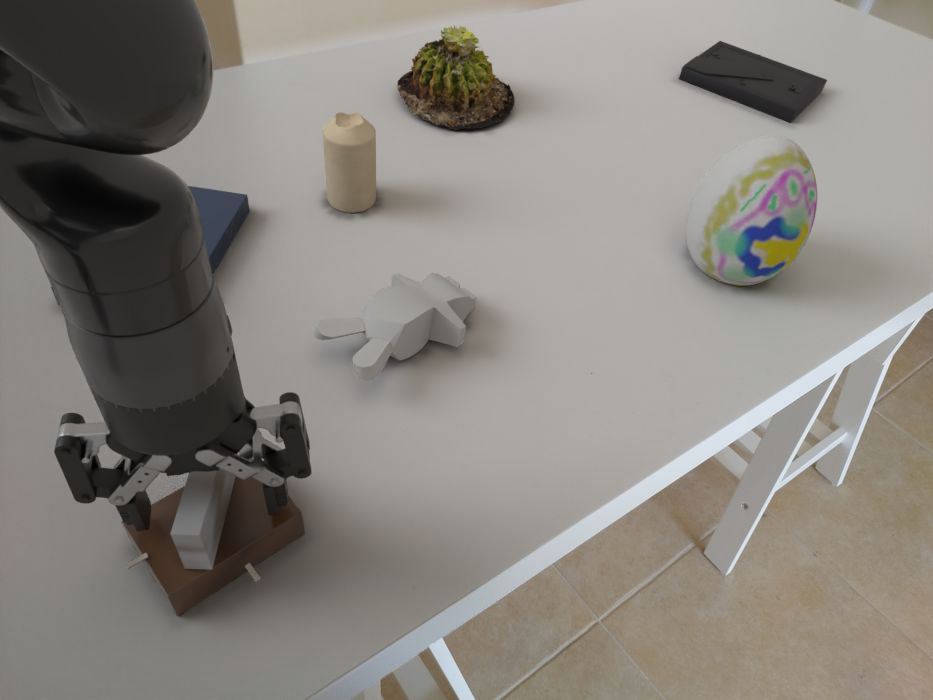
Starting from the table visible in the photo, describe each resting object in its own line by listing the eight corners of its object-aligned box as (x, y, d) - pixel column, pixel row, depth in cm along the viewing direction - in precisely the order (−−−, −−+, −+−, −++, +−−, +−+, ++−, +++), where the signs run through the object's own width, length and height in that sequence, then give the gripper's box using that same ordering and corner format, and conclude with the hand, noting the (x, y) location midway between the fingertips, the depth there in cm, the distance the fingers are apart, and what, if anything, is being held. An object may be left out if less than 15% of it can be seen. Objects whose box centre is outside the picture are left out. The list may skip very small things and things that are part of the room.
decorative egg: (700, 304, 76) (753, 179, 65) (657, 230, 84) (697, 109, 73) (806, 295, 78) (874, 173, 67) (754, 224, 86) (807, 106, 75)
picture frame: (678, 79, 111) (790, 123, 104) (683, 64, 109) (797, 108, 103) (715, 52, 119) (822, 91, 112) (720, 38, 117) (828, 77, 110)
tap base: (179, 657, 48) (169, 638, 45) (101, 526, 53) (88, 503, 51) (338, 550, 54) (335, 527, 51) (251, 442, 59) (246, 418, 57)
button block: (179, 331, 67) (170, 299, 64) (52, 311, 68) (37, 278, 65) (250, 211, 80) (244, 180, 77) (143, 195, 81) (134, 163, 78)
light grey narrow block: (212, 570, 49) (199, 533, 45) (184, 569, 48) (169, 532, 45) (237, 468, 54) (227, 428, 51) (213, 467, 54) (201, 427, 51)
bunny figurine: (501, 299, 68) (374, 362, 59) (490, 340, 71) (369, 406, 62) (431, 248, 72) (304, 299, 63) (425, 289, 75) (303, 344, 66)
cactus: (528, 129, 97) (540, 57, 90) (409, 135, 94) (411, 61, 87) (495, 68, 108) (503, 0, 101) (388, 71, 105) (388, 1, 98)
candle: (316, 200, 83) (310, 118, 75) (349, 179, 86) (346, 99, 79) (354, 219, 81) (351, 138, 74) (386, 197, 84) (386, 117, 77)
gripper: (-5, 419, 35) (92, 576, 47) (298, 390, 38) (318, 545, 50) (27, 312, 40) (107, 478, 52) (293, 293, 43) (312, 455, 55)
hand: (210, 511), depth 51 cm, fingers open, 8 cm apart
